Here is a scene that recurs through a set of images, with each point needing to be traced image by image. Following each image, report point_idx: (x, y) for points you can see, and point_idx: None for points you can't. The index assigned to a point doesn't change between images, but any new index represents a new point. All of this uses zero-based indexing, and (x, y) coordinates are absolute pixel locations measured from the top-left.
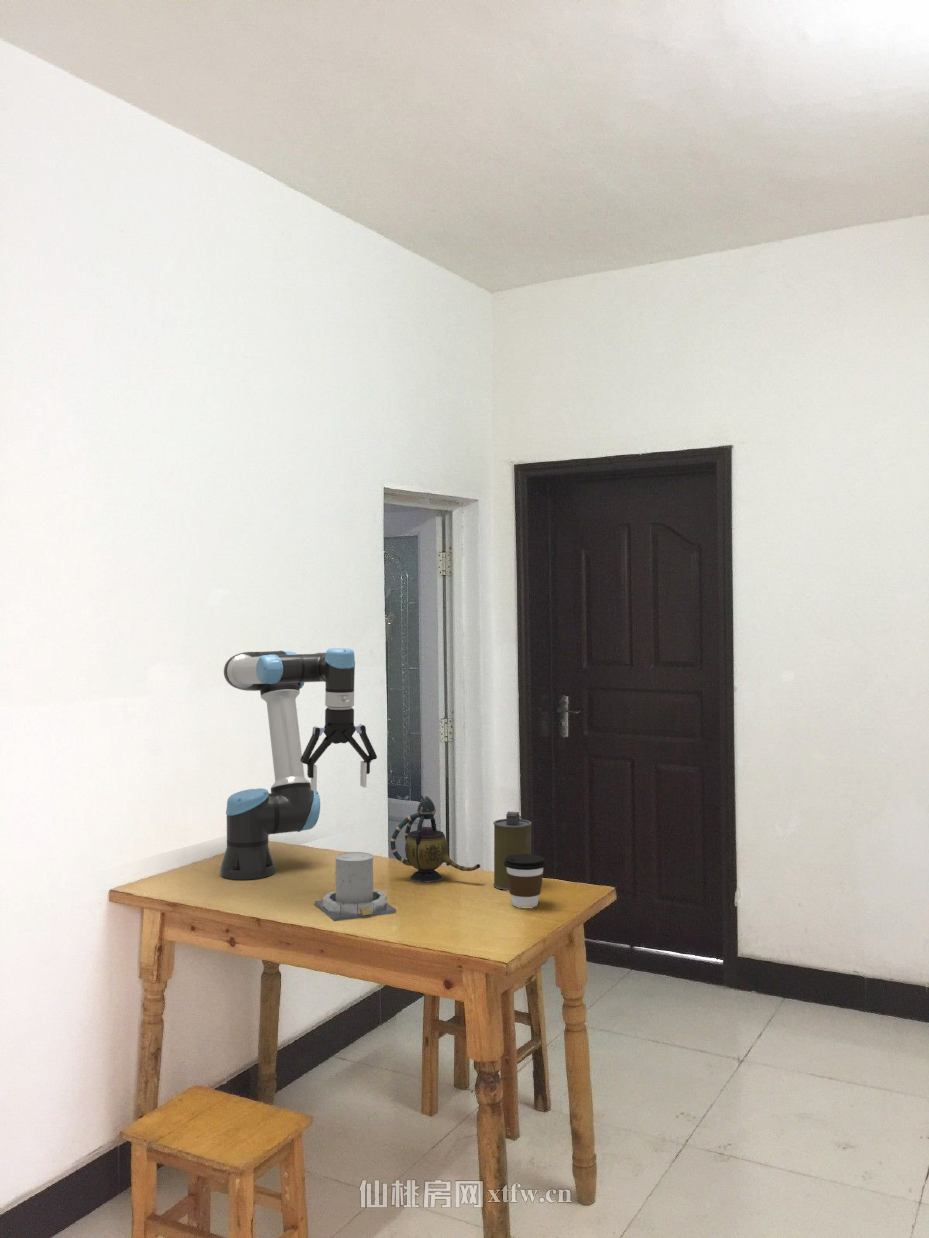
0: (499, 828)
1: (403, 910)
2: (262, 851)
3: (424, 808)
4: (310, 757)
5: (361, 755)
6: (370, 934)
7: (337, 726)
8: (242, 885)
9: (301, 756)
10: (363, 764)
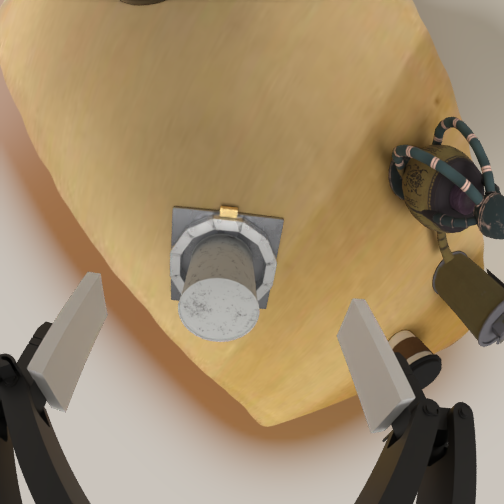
0: (479, 328)
1: (280, 302)
2: None
3: (488, 232)
4: (6, 411)
5: (376, 467)
6: (194, 354)
7: None
8: (112, 34)
9: None
10: (371, 420)
